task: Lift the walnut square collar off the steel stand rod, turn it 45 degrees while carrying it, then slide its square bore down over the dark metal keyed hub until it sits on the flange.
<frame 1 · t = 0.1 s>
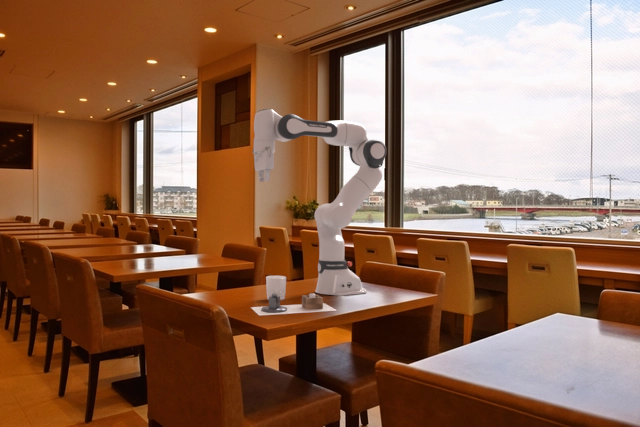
hand: (264, 181, 215), 48 cm above the table, fingers open, 8 cm apart
hub: (274, 310, 180), resting on board
collar: (312, 302, 185), on the board, point 4 cm above the table
board: (293, 313, 183), on the table
stand rod: (312, 300, 185), on the board, point 4 cm above the table
white cup: (275, 302, 202), on the table
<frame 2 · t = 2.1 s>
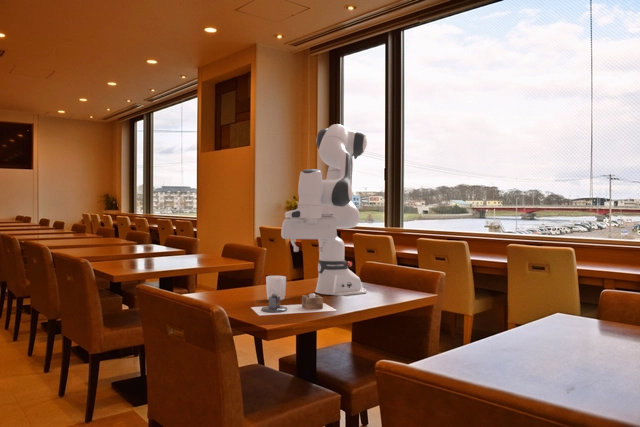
hand: (308, 251, 186), 22 cm above the table, fingers open, 8 cm apart
nothing on the table moved.
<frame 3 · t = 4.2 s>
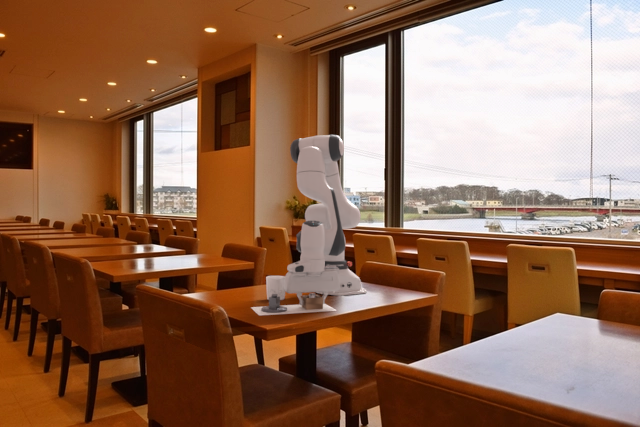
hand: (312, 304, 185), 3 cm above the table, fingers closed on collar, 6 cm apart
collar: (312, 302, 185), on the board, point 4 cm above the table, touching gripper
everything else where it was.
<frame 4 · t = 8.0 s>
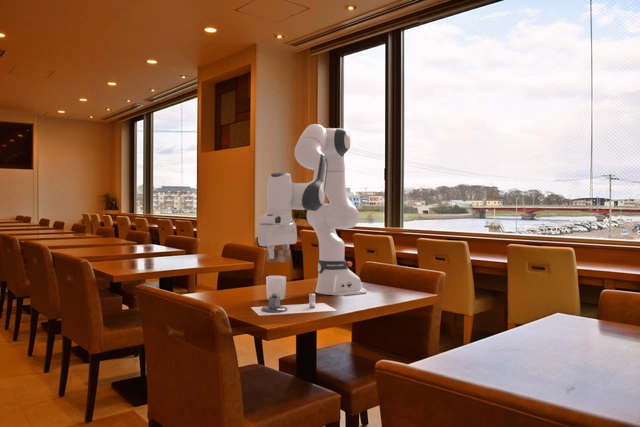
hand: (278, 257, 180), 20 cm above the table, fingers closed on collar, 6 cm apart
collar: (278, 255, 180), point 21 cm above the table, touching gripper
everything else where it was.
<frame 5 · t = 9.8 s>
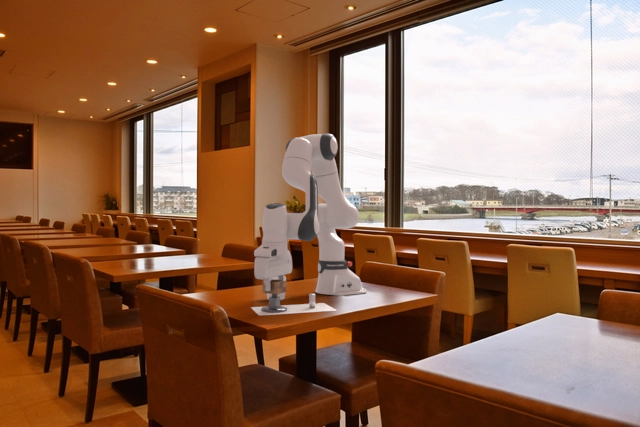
hand: (274, 289, 180), 9 cm above the table, fingers closed on collar, 6 cm apart
collar: (274, 286, 180), point 10 cm above the table, touching gripper
everything else where it was.
when the fingers open (3 cm above the table, at t = 11.5 s): collar stays where it is, resting on hub.
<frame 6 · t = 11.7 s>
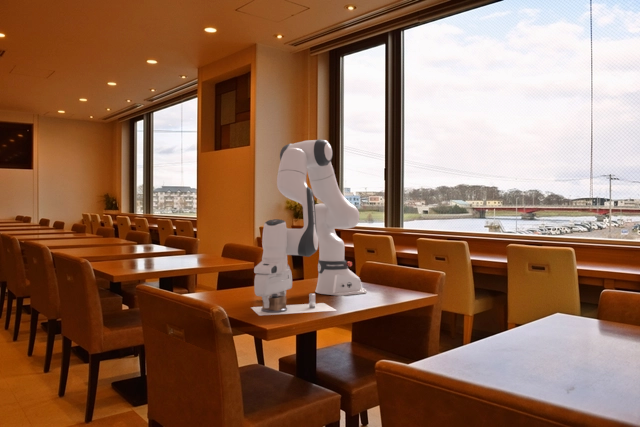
hand: (274, 305, 180), 3 cm above the table, fingers open, 8 cm apart
collar: (274, 302, 180), point 4 cm above the table, touching hub
everything else where it was.
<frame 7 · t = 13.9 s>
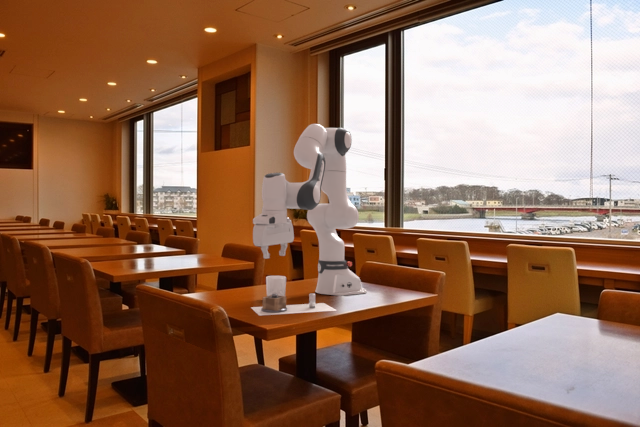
hand: (274, 257, 183), 20 cm above the table, fingers open, 8 cm apart
nothing on the table moved.
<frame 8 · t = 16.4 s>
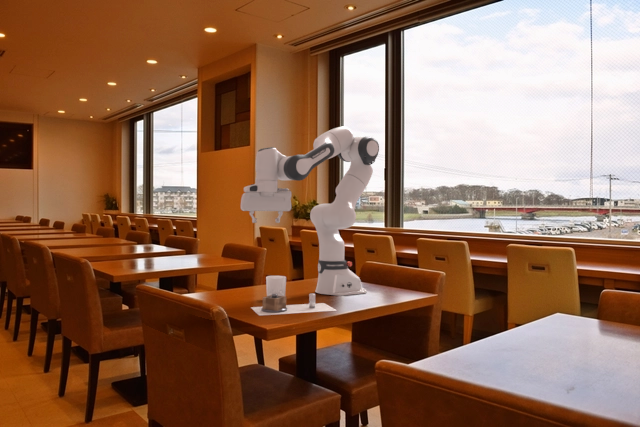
hand: (266, 222, 205), 31 cm above the table, fingers open, 8 cm apart
nothing on the table moved.
at the end: collar 0.0 cm off-centre on the hub, point 2.6 cm above the hub's base; collar tilted 0°; the gripper is holding nothing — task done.
